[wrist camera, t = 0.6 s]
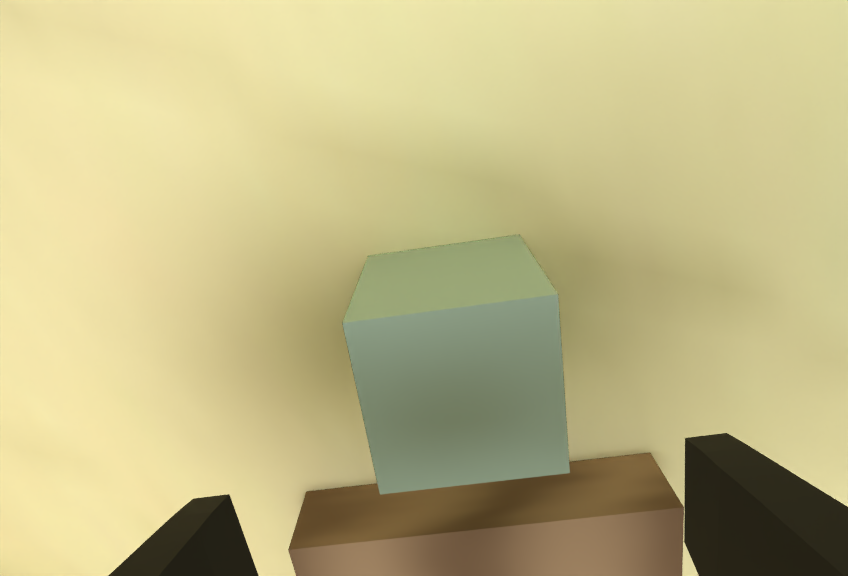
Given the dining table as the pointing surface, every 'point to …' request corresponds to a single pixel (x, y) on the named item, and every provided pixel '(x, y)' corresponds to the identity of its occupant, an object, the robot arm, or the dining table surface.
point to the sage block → (458, 365)
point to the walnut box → (500, 526)
